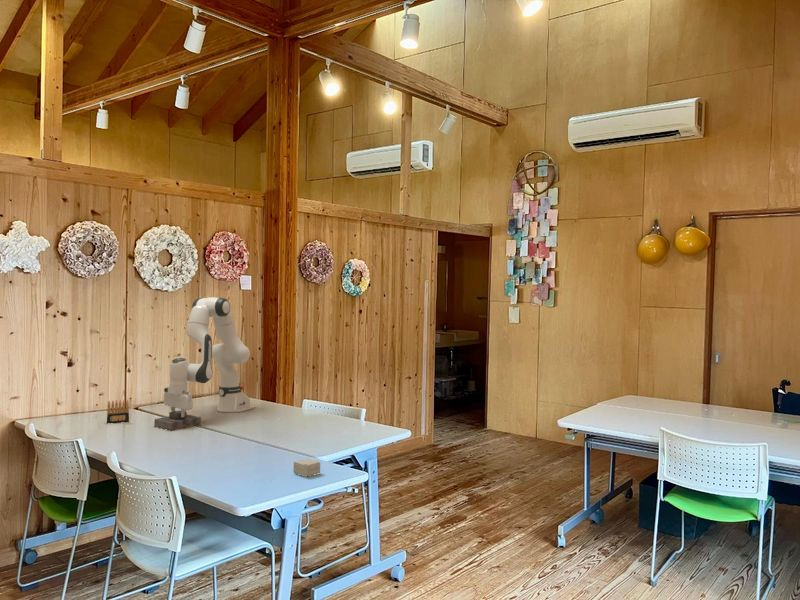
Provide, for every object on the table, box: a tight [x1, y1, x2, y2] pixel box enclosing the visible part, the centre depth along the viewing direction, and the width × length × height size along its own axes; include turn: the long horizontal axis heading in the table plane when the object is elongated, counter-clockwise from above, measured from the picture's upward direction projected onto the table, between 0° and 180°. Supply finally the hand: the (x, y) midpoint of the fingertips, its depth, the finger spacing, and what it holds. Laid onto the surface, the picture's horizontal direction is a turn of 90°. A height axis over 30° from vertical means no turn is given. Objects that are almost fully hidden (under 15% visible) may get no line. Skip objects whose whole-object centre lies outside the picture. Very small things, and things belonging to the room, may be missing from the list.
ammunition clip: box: [106, 399, 130, 424], centre depth 332 cm, size 11×2×12 cm, turn 121°
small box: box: [292, 458, 321, 478], centre depth 252 cm, size 8×8×5 cm
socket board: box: [153, 413, 202, 432], centre depth 328 cm, size 18×14×5 cm
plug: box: [168, 409, 188, 420], centre depth 328 cm, size 6×6×6 cm
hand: (178, 416), depth 328 cm, fingers closed on plug, 5 cm apart
